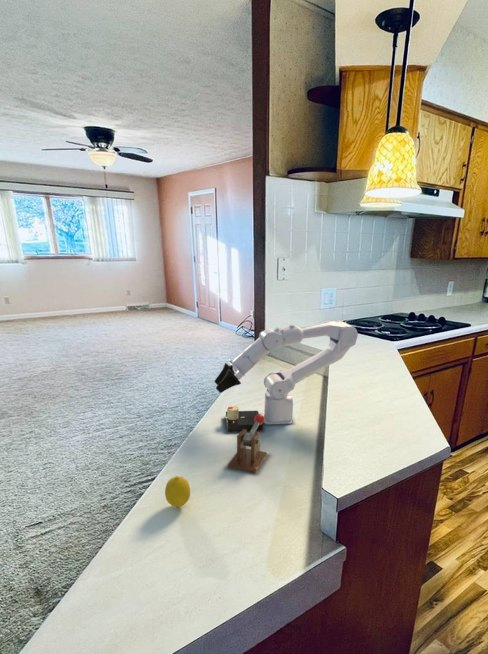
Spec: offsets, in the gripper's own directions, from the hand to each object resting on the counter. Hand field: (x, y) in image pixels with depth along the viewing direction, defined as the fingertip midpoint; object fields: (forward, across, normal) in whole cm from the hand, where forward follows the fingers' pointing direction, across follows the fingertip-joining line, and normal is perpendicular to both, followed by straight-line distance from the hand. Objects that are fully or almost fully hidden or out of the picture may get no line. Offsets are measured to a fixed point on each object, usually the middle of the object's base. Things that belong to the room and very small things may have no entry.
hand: (217, 387), depth 130 cm
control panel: (+3, 0, +15) cm, 16 cm away
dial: (+3, 0, +11) cm, 12 cm away
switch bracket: (+5, +24, +16) cm, 29 cm away
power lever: (-1, +20, +12) cm, 24 cm away
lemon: (+20, +42, +4) cm, 46 cm away
